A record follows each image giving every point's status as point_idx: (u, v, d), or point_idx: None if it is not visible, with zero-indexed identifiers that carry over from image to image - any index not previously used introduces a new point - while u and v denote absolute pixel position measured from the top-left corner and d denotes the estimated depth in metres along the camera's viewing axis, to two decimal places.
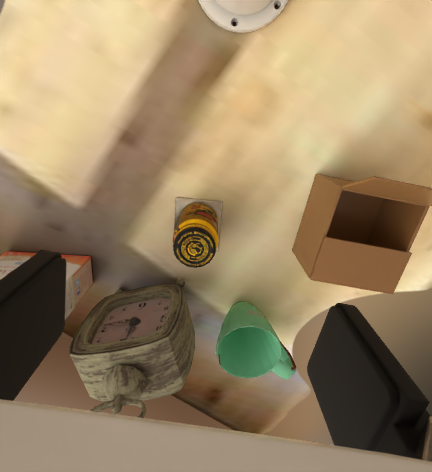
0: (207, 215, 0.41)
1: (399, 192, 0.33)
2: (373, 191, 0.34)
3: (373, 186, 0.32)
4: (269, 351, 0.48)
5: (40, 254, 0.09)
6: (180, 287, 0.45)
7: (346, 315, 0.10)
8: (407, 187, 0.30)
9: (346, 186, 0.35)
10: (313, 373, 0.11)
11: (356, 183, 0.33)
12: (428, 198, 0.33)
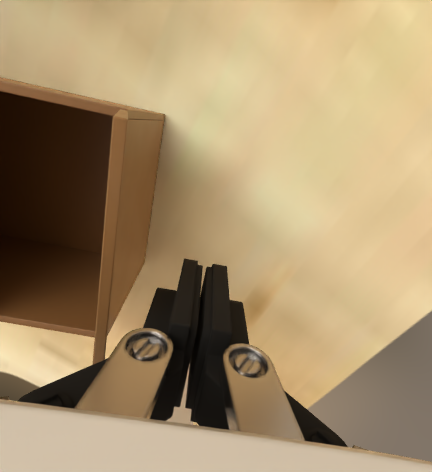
0: None
1: None
2: None
3: None
4: None
5: (187, 262, 0.10)
6: None
7: None
8: None
9: (122, 110, 0.11)
10: None
11: (121, 112, 0.09)
12: None
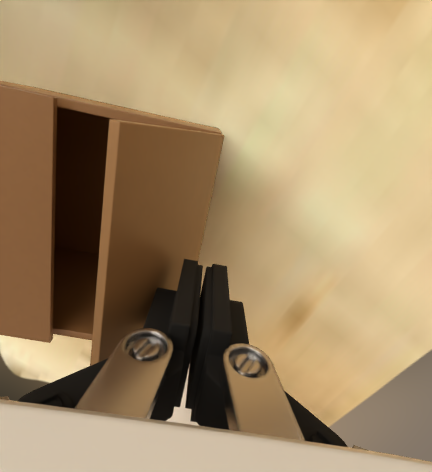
0: None
1: None
2: None
3: None
4: None
5: (187, 262, 0.10)
6: None
7: None
8: None
9: None
10: None
11: (185, 130, 0.09)
12: None
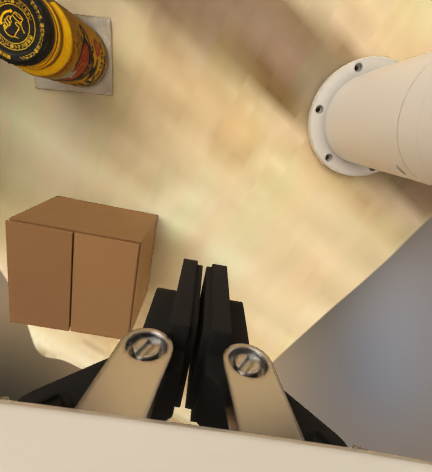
0: (83, 62, 0.27)
1: None
2: None
3: None
4: None
5: (187, 262, 0.10)
6: None
7: None
8: None
9: (130, 243, 0.29)
10: None
11: (108, 238, 0.29)
12: None
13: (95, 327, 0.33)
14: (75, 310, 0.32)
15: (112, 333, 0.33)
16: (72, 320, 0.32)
